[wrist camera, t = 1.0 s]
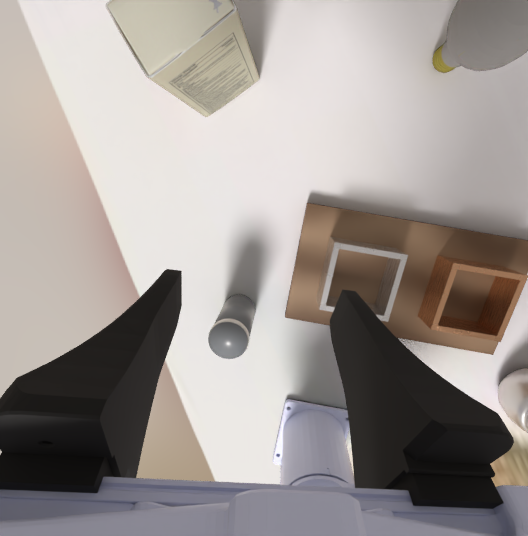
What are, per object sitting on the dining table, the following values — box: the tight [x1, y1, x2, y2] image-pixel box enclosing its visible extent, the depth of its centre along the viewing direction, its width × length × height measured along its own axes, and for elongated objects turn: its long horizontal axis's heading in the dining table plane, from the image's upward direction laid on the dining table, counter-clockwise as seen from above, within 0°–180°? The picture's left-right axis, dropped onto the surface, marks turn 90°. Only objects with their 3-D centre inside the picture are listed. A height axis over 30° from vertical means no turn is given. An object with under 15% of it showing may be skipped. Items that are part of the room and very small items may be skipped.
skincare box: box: [106, 0, 260, 117], centre depth 22 cm, size 6×4×12 cm
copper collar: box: [418, 255, 528, 342], centre depth 29 cm, size 6×6×3 cm
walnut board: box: [285, 203, 528, 355], centre depth 31 cm, size 12×22×1 cm, turn 81°
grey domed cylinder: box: [208, 295, 255, 359], centre depth 31 cm, size 4×4×7 cm
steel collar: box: [316, 237, 408, 322], centre depth 29 cm, size 6×6×3 cm
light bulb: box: [433, 0, 528, 73], centre depth 22 cm, size 5×5×10 cm
